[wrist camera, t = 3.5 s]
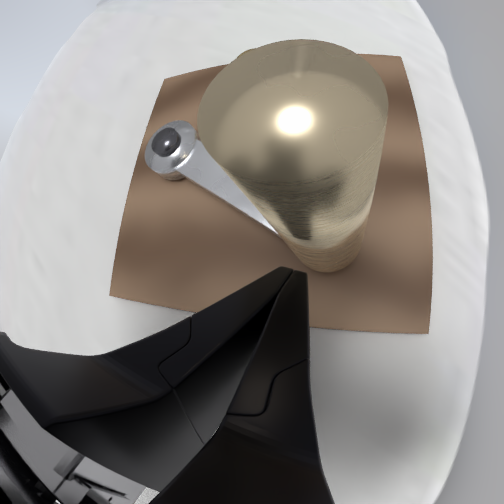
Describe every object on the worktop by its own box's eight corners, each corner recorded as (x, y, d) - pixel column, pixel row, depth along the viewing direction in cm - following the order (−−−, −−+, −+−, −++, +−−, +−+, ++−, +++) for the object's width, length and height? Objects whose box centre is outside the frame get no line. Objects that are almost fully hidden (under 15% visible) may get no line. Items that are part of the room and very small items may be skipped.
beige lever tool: (148, 167, 20) (34, 84, 10) (179, 125, 20) (83, 27, 10) (334, 292, 15) (313, 239, 4) (374, 230, 15) (418, 67, 4)
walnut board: (424, 332, 14) (428, 333, 13) (116, 296, 20) (109, 295, 19) (400, 63, 17) (401, 56, 16) (168, 84, 24) (164, 79, 23)
